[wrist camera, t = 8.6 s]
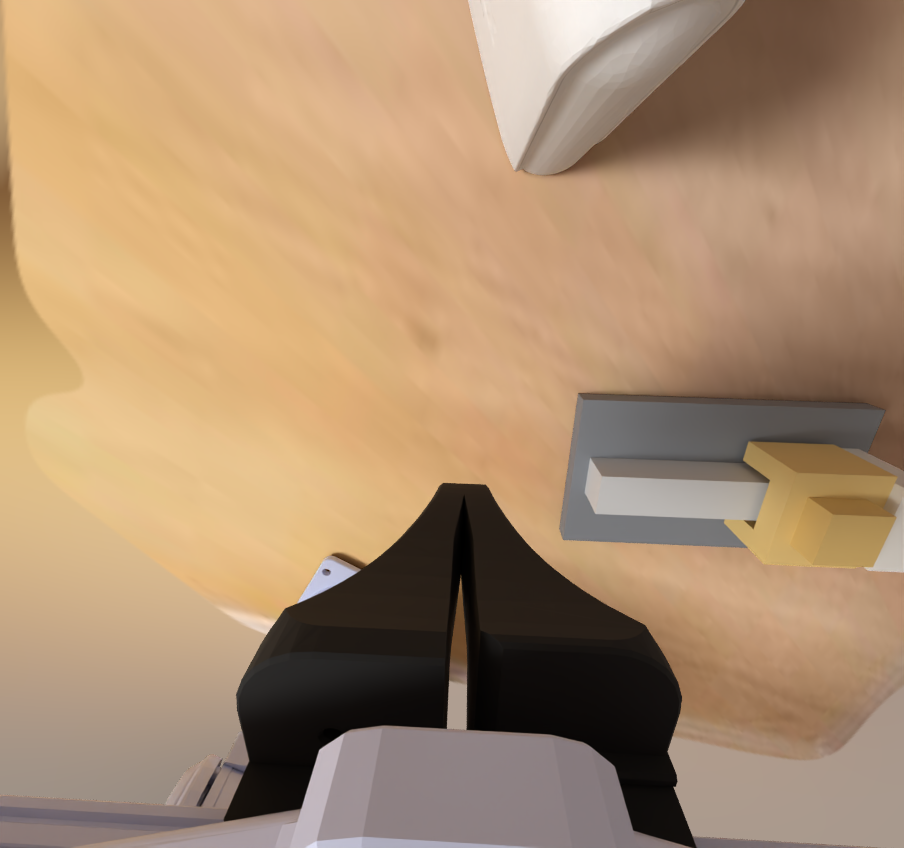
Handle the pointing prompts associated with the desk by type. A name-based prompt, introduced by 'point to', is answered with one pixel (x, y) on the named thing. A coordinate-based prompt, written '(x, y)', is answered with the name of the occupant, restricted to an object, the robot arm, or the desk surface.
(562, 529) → the rail board
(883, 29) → the desk surface
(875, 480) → the slider
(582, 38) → the photo printer
